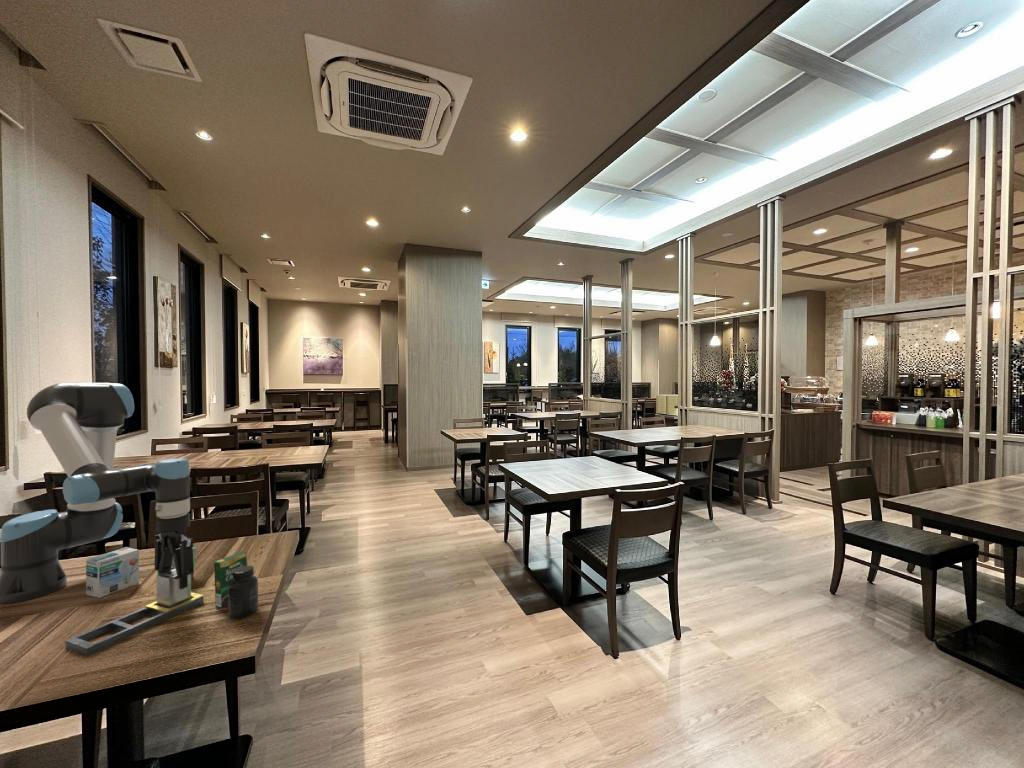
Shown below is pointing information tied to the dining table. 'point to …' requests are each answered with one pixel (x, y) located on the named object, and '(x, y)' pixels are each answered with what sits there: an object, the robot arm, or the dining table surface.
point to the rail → (128, 626)
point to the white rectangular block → (169, 589)
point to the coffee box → (226, 576)
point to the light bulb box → (112, 572)
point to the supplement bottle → (243, 593)
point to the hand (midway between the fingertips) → (174, 597)
